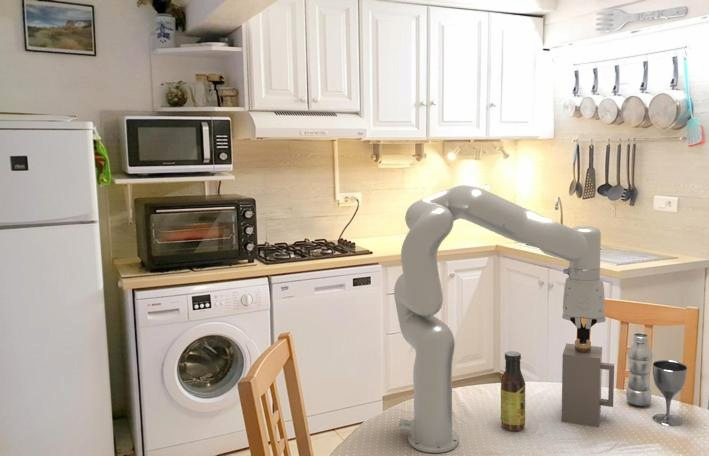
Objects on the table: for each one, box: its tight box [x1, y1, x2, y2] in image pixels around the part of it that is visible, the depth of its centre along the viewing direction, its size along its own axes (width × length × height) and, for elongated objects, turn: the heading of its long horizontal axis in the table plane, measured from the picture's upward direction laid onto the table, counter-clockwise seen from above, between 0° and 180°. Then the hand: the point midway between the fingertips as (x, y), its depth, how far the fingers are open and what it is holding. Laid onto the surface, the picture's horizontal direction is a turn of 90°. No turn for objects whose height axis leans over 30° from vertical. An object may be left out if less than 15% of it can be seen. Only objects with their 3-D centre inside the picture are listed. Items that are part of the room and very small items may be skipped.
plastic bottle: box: [625, 332, 654, 407], centre depth 172 cm, size 6×7×20 cm
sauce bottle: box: [500, 350, 526, 432], centre depth 161 cm, size 7×6×20 cm
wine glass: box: [652, 359, 688, 427], centre depth 162 cm, size 8×8×15 cm
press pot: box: [561, 342, 615, 428], centre depth 165 cm, size 12×9×19 cm
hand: (583, 341), depth 164 cm, fingers closed
